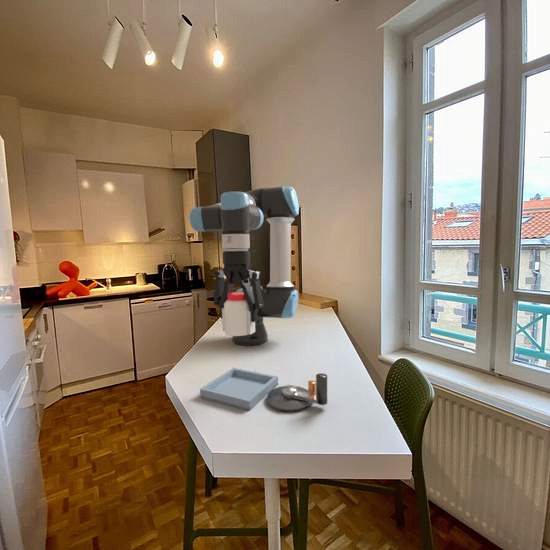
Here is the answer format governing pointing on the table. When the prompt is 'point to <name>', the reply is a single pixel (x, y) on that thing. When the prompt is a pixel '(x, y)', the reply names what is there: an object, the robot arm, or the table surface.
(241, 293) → the pill bottle
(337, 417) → the table surface
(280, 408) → the crank base
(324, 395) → the crank
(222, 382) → the tray
